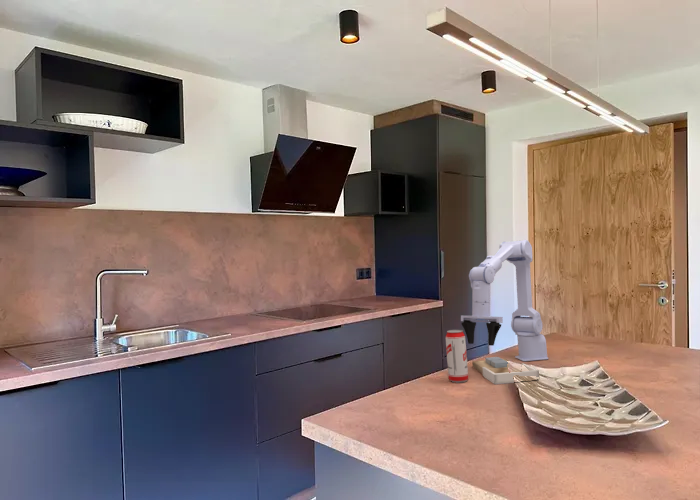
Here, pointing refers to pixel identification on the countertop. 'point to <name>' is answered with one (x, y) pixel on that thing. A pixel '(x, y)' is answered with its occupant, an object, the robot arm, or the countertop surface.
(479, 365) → the board
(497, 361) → the tile front
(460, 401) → the countertop surface
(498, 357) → the tile rear
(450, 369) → the beer can
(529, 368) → the tray
